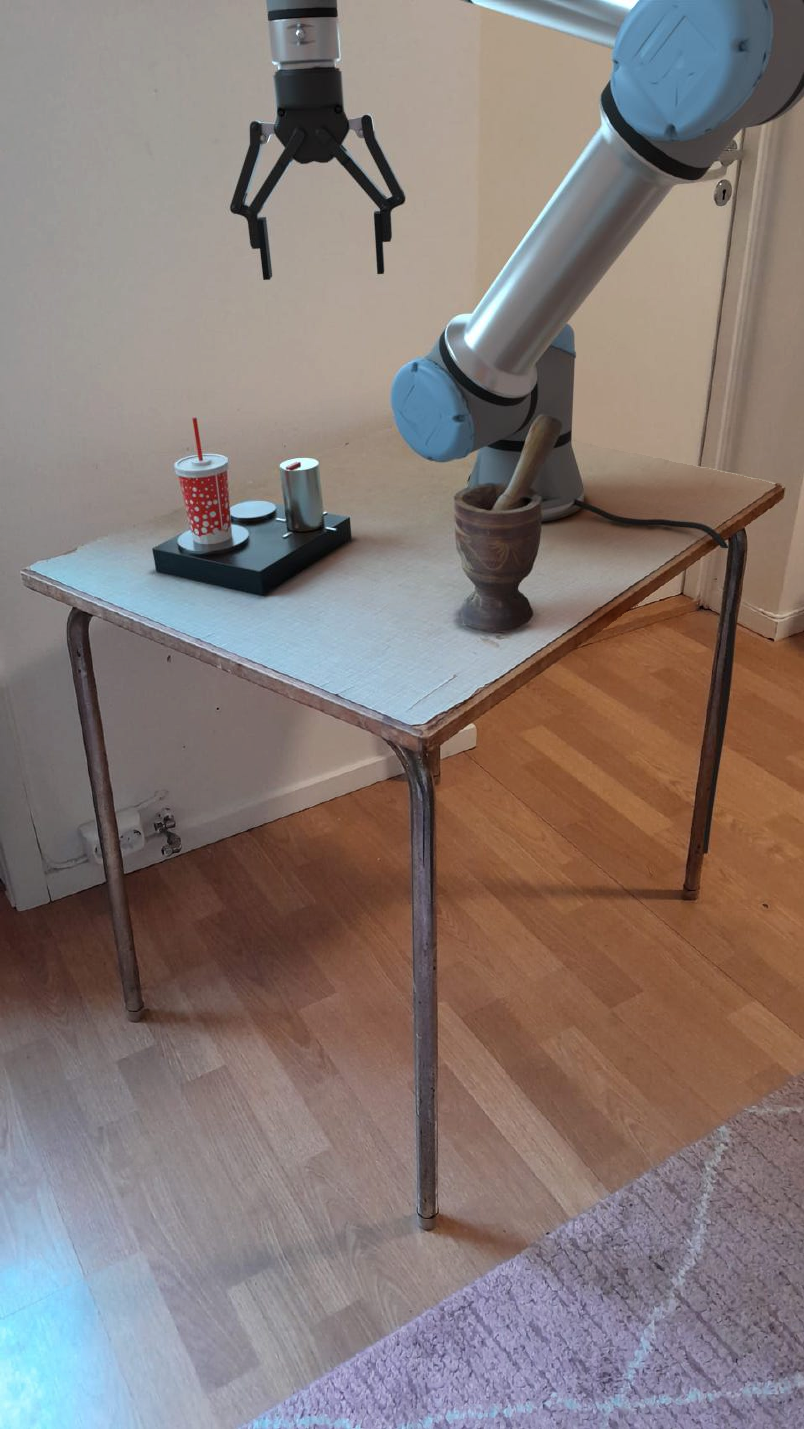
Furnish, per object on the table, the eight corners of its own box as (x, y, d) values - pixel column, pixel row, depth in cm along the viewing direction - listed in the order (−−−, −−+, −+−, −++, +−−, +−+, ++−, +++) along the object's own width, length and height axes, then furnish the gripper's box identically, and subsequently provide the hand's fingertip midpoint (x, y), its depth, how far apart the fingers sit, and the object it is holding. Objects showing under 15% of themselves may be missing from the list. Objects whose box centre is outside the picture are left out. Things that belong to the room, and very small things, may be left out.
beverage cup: (220, 523, 126) (203, 406, 119) (248, 536, 122) (232, 416, 115) (176, 537, 123) (156, 418, 116) (203, 551, 119) (184, 429, 112)
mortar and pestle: (497, 583, 116) (497, 402, 106) (567, 599, 112) (574, 412, 101) (441, 624, 108) (435, 432, 98) (514, 643, 104) (516, 444, 93)
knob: (301, 515, 129) (294, 453, 125) (332, 521, 126) (326, 458, 122) (278, 528, 125) (271, 465, 121) (309, 534, 123) (303, 470, 119)
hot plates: (303, 512, 130) (303, 507, 129) (218, 560, 118) (217, 555, 118) (248, 502, 134) (247, 498, 133) (160, 548, 122) (160, 543, 122)
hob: (358, 541, 129) (356, 516, 127) (269, 597, 116) (266, 571, 114) (250, 521, 136) (247, 497, 135) (156, 572, 124) (151, 547, 122)
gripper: (187, 73, 111) (215, 285, 122) (420, 59, 110) (428, 275, 121) (200, 73, 118) (226, 275, 129) (421, 60, 117) (428, 265, 128)
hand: (324, 275), depth 125 cm, fingers open, 13 cm apart
